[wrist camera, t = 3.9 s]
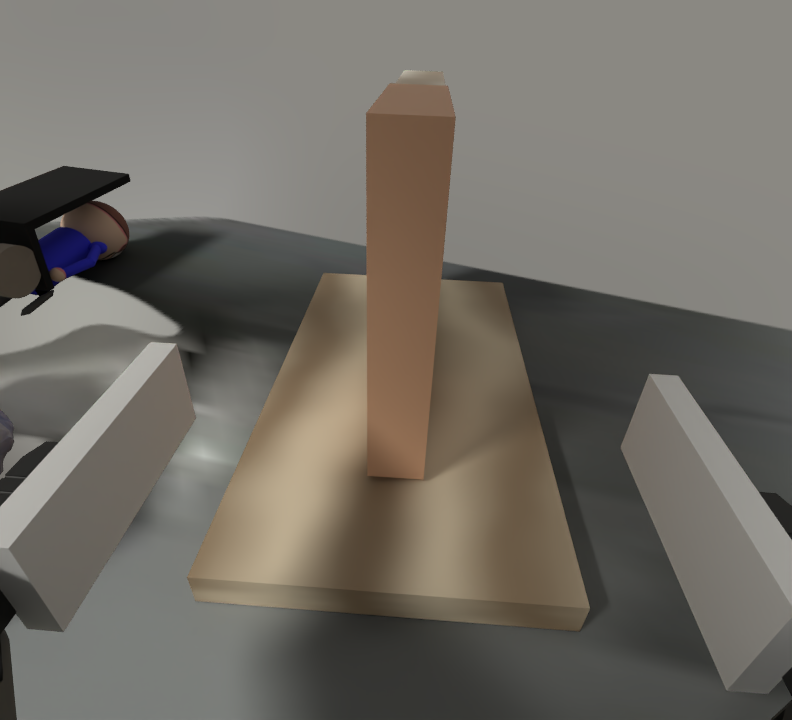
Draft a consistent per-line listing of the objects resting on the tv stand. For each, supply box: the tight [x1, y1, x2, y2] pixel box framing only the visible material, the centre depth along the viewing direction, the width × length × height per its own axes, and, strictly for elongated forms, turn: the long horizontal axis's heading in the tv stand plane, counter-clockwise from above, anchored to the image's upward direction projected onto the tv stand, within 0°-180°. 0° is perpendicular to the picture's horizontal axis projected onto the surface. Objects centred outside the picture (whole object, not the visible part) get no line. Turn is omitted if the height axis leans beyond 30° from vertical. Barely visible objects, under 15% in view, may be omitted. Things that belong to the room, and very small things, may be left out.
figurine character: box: [0, 166, 130, 316], centre depth 38 cm, size 7×8×15 cm
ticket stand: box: [187, 70, 590, 631], centre depth 24 cm, size 14×26×16 cm, turn 176°
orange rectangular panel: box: [366, 83, 456, 480], centre depth 21 cm, size 2×9×14 cm, turn 176°
